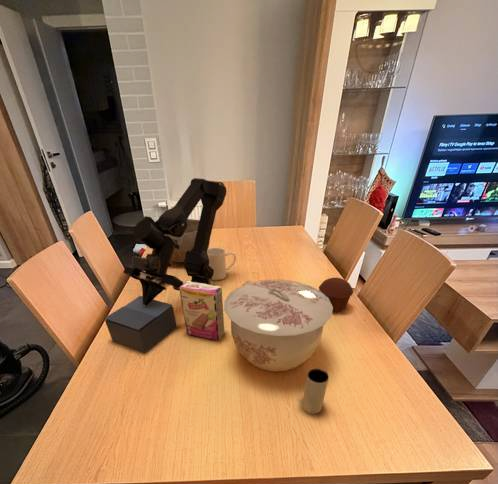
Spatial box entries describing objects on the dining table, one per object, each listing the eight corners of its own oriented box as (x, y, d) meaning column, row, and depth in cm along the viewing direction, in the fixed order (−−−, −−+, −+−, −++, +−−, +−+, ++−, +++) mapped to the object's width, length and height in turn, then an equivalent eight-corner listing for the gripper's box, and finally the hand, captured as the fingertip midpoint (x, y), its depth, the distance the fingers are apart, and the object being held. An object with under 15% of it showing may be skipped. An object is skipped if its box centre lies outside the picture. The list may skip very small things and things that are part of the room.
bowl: (222, 255, 143) (220, 222, 133) (188, 274, 127) (183, 238, 118) (184, 246, 153) (180, 214, 143) (148, 262, 137) (141, 228, 127)
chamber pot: (323, 394, 74) (339, 324, 61) (216, 381, 78) (209, 312, 65) (322, 330, 95) (334, 268, 82) (237, 322, 99) (236, 261, 86)
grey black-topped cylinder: (300, 400, 73) (305, 369, 66) (318, 398, 73) (325, 367, 67) (304, 414, 70) (310, 383, 63) (323, 413, 70) (331, 382, 63)
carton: (146, 317, 102) (140, 295, 96) (177, 327, 97) (172, 304, 92) (112, 341, 91) (103, 318, 86) (145, 353, 87) (138, 329, 82)
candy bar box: (186, 335, 94) (178, 287, 83) (193, 326, 97) (186, 279, 87) (219, 342, 91) (214, 293, 80) (225, 333, 94) (222, 285, 84)
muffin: (309, 306, 107) (313, 280, 100) (326, 295, 113) (330, 270, 106) (339, 318, 101) (345, 291, 94) (355, 306, 107) (361, 280, 100)
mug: (207, 281, 122) (205, 255, 116) (207, 272, 128) (204, 248, 122) (237, 279, 124) (236, 254, 117) (235, 271, 130) (234, 246, 123)
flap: (140, 296, 96) (140, 295, 96) (172, 305, 92) (172, 304, 92) (123, 307, 92) (123, 306, 91) (156, 318, 87) (156, 316, 87)
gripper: (118, 238, 86) (101, 289, 86) (170, 248, 80) (152, 304, 79) (144, 255, 96) (128, 301, 96) (191, 265, 90) (175, 315, 90)
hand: (144, 304), depth 90 cm, fingers closed
